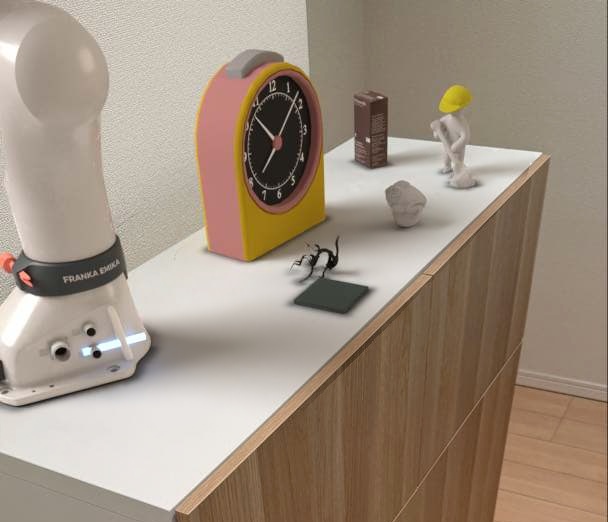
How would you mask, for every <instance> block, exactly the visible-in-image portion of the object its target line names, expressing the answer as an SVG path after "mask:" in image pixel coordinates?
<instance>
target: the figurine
mask: <svg viewBox="0 0 608 522" xmlns="http://www.w3.org/2000/svg"><path fill="white" fill-rule="evenodd" d="M472 101H473V95H472V93H471V91H470V90H469V89H468V88H467V87H465V86H464V85H460V84H456V85H455V84H454V85H453V86H450V87H449V88H448V89H447V90H446V91H445V93H444V95H443V96H442V98H441V101H440V102H439V106H438V109H439V111H440V112H442V113H444V114H445V115H444V116H442V117H441V118H440V119H436V120H434V121H432V122H431V123H430V129H431V130H432V131H433V138H434V139H435V140H437V141H441V143H442V145H443V147H444V149H443V169H442V173H443V174H446V173H449V172H450V171H451V170H452V171H453V173H454V175H453V176H452V177H451V178H450V181H449V185H450V187H452V188H457V189H468V188H470V187H471V188H472V187H475V186H476V183H477V182H476V181H475V180H474V179H473V178H472V175H471V172H470V170H468V167H467V165H466V164H465V163H464V162H465V156H466V155H465V154H466V146H467V145H468V144H469V142H470V139H471V131H470V126H469V122H468V121H467V119H466V118H465V117H464V116H463V112H464V111H465V110H466V108H467V106H468V105H469V104H471V103H472ZM445 132H446V133H447V134H446V135H445ZM452 164H453V165H452ZM452 166H453V167H452Z"/></svg>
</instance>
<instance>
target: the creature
mask: <svg viewBox="0 0 608 522" xmlns="http://www.w3.org/2000/svg"><path fill="white" fill-rule="evenodd" d="M340 237H341V235H337V237H336V238H335V242H334V246H335V254H334V251H332V250H331V249H329V248H325V247H322V248H320V247H321V246H320V245H319V244H316V243H315V244H314V246H315V247H316V248H317V249H314V248H313V247H312V246H311V245H310V244H308V243H307V242H305V244H306V245H307V248H308V249H309V251H311V249H312V250H313V251H314V252H315V253H316V254H313V253H309V255H308V254H303V255H302V256H301V258H300V260H294V262H293V263H292V265H291V266H290V271H291V270H292V269H293V266H295V265H297V266H298V267H301V266H302V263H303V260H304V259H306V260H307V261H308V263H307V264H306V265H307V266H309V267H310V272H309V274H308V276H306V277H304V278H302V279H301V280H299V281H298V283H303V282H304V281H306V280H308V279H309V278H310V277H311V278H312V275H313V274H314V270H315V269H317V268H319V267H322V268H323V269H324V270H323V271H322V275H318V276H316V278H320V277H321V278H325V272H326V271H327V270H328V271H329V272H331V270H332V269H334V268H336V267H337V266H338V264H339V260H340V258H339V253H340V251H339V250H340V249H339V239H340ZM310 248H311V249H310ZM322 253H327V256H328V258H327V261H326V264H325V267H324V266H323V265H321V266H320V265H319V266H316V265H317V263H318V261H319V259H320V258H321V255H322ZM306 256H307V257H306ZM315 266H316V267H315Z"/></svg>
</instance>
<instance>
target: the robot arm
mask: <svg viewBox="0 0 608 522" xmlns="http://www.w3.org/2000/svg"><path fill="white" fill-rule="evenodd" d="M109 89H110V72H109V67H108V63H107V59H106V57H105V54H104V52H103V50H102V48H101V46H100V44H99V43H98V41H97V40H96V39H95V38H94V36H93V35H92V34H91V33H90V32H89V31H88V30H87V28H85V26H83V24H82V23H81V22H79V20H77V19H76V18H75V17H73V16H72V14H70V13H69V12H67V11H66V10H65V9H63V8H61V7H59V6H57V5H53V4H51V3H47V2H44V1H40V0H0V134H1V135H0V136H1V143H2V149H3V158H4V169H5V174H4V178H3V186H4V191H5V194H6V197H7V200H8V204H9V207H10V210H11V214H12V217H13V220H14V224H15V228H16V230H17V233H18V238H19V240H20V244H21V247H22V249H21V251H20V253H19V254H18V256H17V257H14V255H12V254H11V253H9V252H2V253H1V254H0V268H1V269H2V270H3V271H5V272H6V273H7V274H10V275H12V277H13V280H14V282H15V285H16V286H15V287H14V289H13V290H12V291H11V292H10V294H9V295H8V296H7V297H6V298H5V300H4V301H3V303H2V304H1V305H0V402H1V403H3V404H6V405H9V406H14V407H15V406H16V407H19V406H24V405H28V404H32V403H36V402H39V401H43V400H44V401H45V400H47V399H51V398H55V397H59V396H63V395H66V394H70V393H74V392H78V391H82V390H84V389H89V388H93V387H97V386H101V385H105V384H108V383H112V382H117V381H120V380H124V379H128V378H130V377H131V376H133V375H134V374H135V371H136V368H137V364H138V363H139V362H140V360H141V359H142V358H144V357H145V356H146V354H147V353H148V351H149V350H150V348H151V345H152V340H151V339H152V338H151V335H150V334H149V332H148V331H147V329H146V327H145V325H144V323H143V321H142V319H141V317H140V315H139V312H138V310H137V307H136V305H135V302H134V298H133V296H132V293H131V290H130V287H129V283H128V279H129V276H128V275H129V274H128V270H127V269H128V266H127V259H126V256H125V252H124V248H123V246H122V243H121V239H120V236H119V235H118V233H117V234H116V232H115V226H114V222H113V216H112V212H111V207H110V203H109V198H108V193H107V192H108V191H107V187H106V183H105V178H104V171H103V170H104V169H103V161H102V160H103V158H102V157H103V156H102V111H103V109H104V107H105V106H106V105H105V104H106V102H107V99H108V95H109Z"/></svg>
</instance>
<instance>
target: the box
mask: <svg viewBox="0 0 608 522" xmlns="http://www.w3.org/2000/svg"><path fill="white" fill-rule="evenodd" d="M353 128H354V129H353V132H354V133H353V134H354V135H353V137H354V138H353V139H354V143H353V145H354V146H353V147H354V148H353V149H354V161H355V162H358V163H360V164H362V165H364V166H365V167H368V168H369V169H374V168H379V167H382V166H385V165H387V164H388V149H389V148H388V143H389V142H388V139H389V137H388V135H389V131H388V130H389V96H386V95H383V94H382V93H380V92H376V91H372V90H368V91H363V92H359V93H356V94H355V93H354V94H353Z"/></svg>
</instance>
